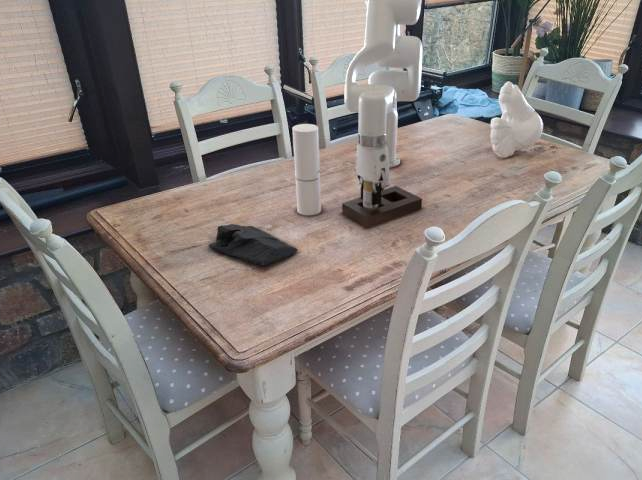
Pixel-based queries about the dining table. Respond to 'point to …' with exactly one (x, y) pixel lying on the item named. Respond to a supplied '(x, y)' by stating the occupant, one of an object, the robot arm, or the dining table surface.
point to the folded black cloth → (250, 244)
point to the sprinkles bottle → (368, 194)
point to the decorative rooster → (514, 123)
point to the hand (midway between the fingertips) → (370, 200)
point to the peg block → (383, 207)
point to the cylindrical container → (307, 168)
